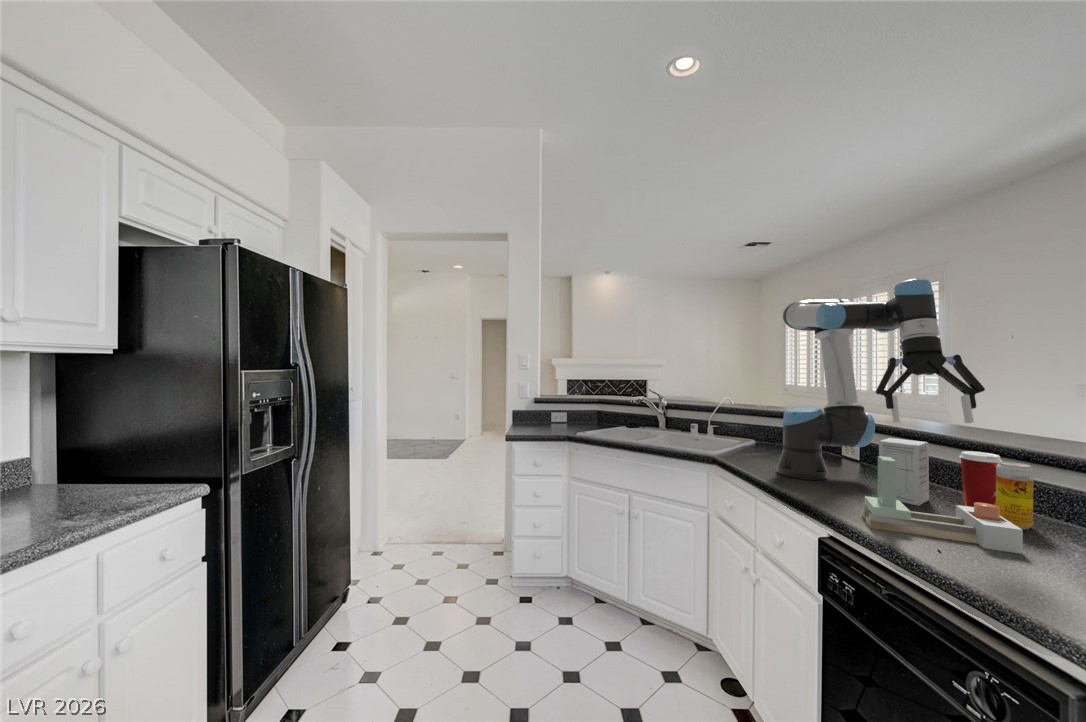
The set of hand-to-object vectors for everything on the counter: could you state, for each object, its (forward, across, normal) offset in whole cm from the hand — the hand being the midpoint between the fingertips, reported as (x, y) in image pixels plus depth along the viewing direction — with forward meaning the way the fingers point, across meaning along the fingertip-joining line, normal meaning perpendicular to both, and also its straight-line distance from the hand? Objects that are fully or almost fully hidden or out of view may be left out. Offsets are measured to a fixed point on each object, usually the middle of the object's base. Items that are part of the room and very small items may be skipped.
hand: (931, 422), depth 104 cm
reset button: (+22, +7, 0) cm, 24 cm away
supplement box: (+20, -2, +27) cm, 33 cm away
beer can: (+24, +16, +15) cm, 32 cm away
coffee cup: (+21, +14, +26) cm, 37 cm away
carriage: (+22, -11, -1) cm, 24 cm away
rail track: (+25, -6, 0) cm, 26 cm away
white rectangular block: (+26, +7, +1) cm, 27 cm away
